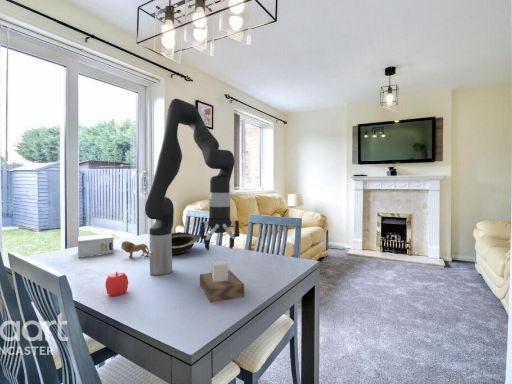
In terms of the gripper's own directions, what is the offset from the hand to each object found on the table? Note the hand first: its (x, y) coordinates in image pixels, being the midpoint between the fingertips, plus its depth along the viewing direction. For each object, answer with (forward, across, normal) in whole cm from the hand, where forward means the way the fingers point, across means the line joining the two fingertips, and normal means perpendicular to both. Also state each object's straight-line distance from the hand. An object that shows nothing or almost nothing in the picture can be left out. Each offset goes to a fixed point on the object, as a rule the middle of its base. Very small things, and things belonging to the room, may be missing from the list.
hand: (219, 249), depth 101 cm
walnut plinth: (+16, +1, 0) cm, 16 cm away
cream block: (+11, 0, 0) cm, 11 cm away
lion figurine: (+17, -34, +58) cm, 69 cm away
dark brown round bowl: (+17, -13, +62) cm, 65 cm away
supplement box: (+18, -56, +74) cm, 94 cm away
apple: (+16, -36, +10) cm, 40 cm away
